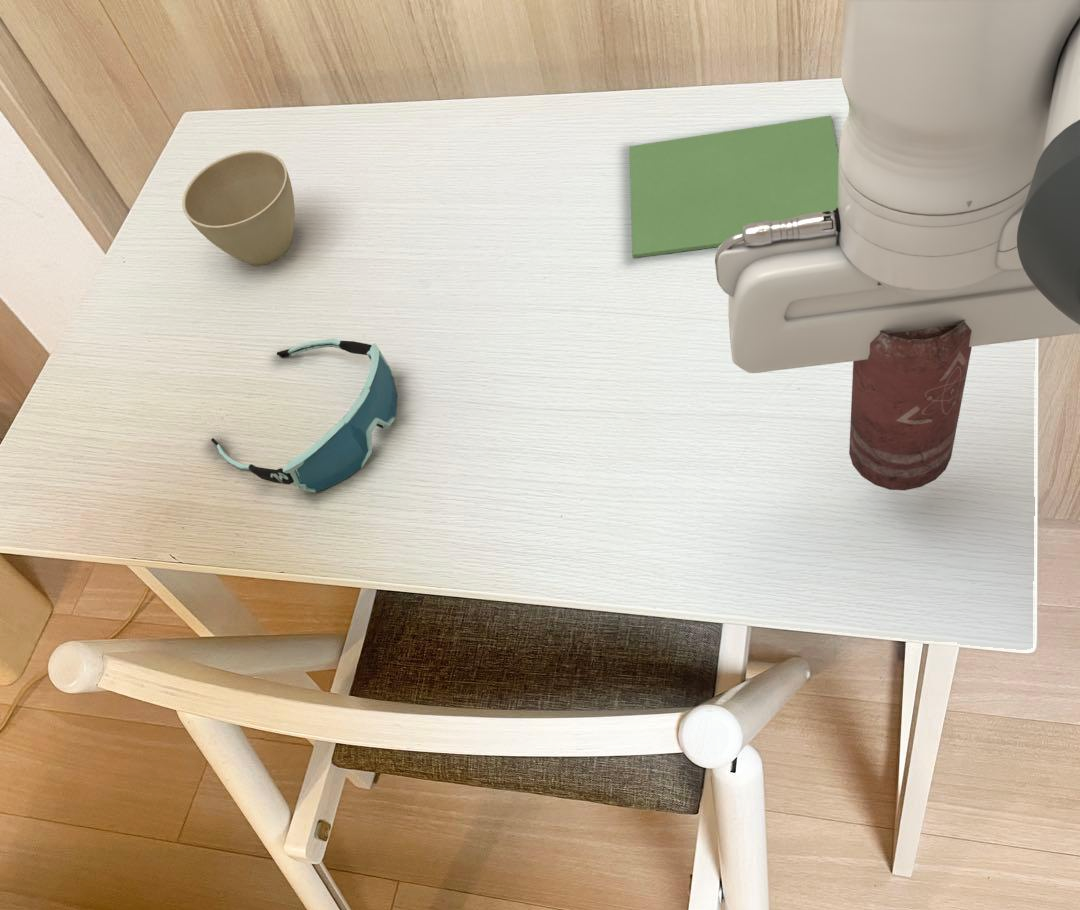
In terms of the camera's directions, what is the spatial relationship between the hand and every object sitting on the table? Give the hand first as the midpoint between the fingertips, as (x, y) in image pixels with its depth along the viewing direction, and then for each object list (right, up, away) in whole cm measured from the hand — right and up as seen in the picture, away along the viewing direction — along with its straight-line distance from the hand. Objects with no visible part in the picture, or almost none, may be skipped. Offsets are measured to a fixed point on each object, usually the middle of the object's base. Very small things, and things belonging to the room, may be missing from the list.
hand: (912, 385), depth 60 cm
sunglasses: (-40, +1, +26) cm, 48 cm away
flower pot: (-48, +19, +39) cm, 64 cm away
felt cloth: (-5, +22, +30) cm, 38 cm away
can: (+1, -4, +6) cm, 7 cm away
